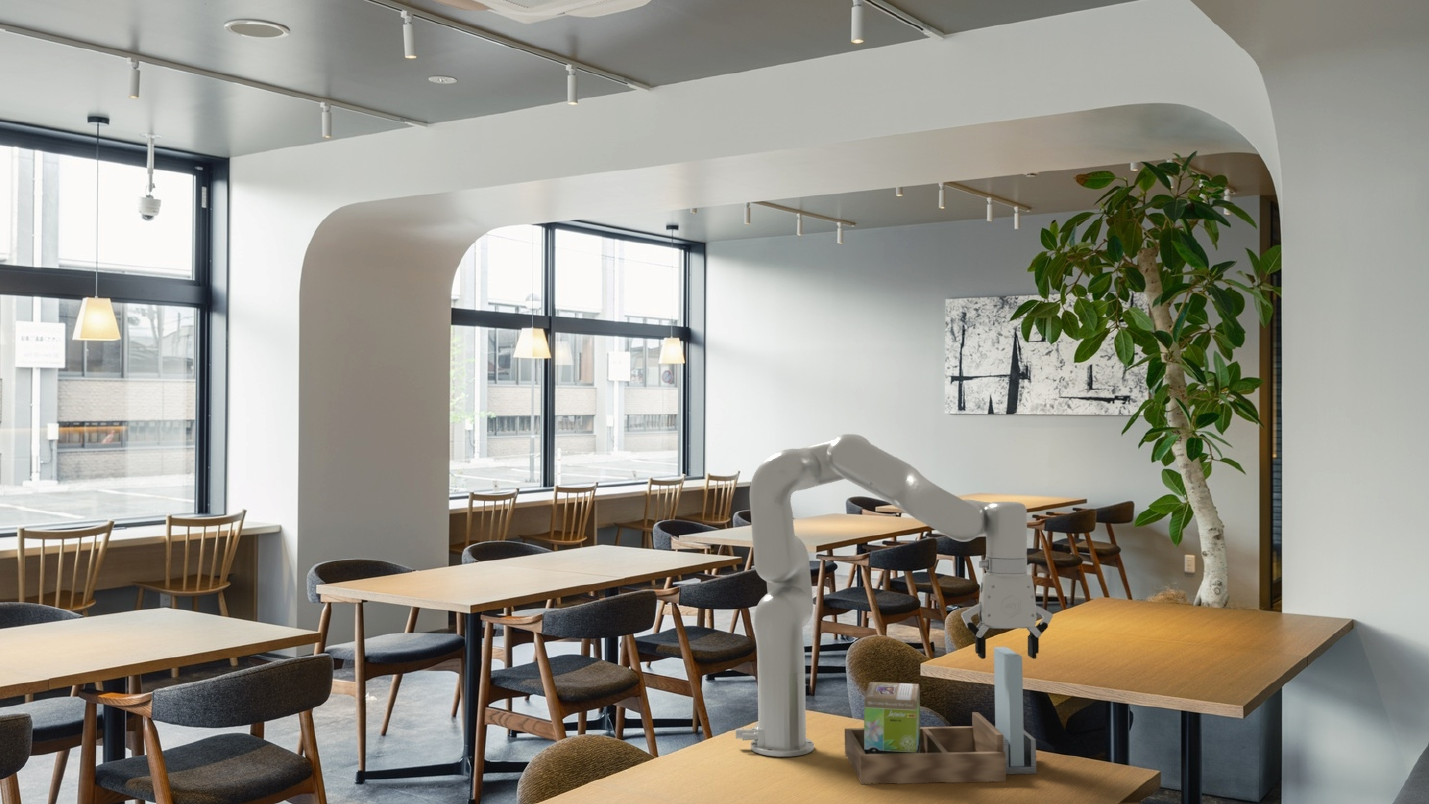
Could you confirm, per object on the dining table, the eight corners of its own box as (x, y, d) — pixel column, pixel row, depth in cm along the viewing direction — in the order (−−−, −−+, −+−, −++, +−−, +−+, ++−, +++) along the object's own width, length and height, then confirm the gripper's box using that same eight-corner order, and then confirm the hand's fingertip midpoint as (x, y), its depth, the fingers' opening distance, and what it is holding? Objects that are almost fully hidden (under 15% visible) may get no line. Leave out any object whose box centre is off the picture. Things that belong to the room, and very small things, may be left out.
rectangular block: (1010, 765, 213) (1008, 656, 214) (995, 751, 223) (993, 647, 224) (1024, 765, 213) (1022, 656, 214) (1008, 751, 223) (1006, 647, 224)
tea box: (918, 781, 209) (917, 698, 209) (863, 778, 211) (861, 696, 211) (921, 758, 223) (919, 681, 224) (868, 756, 225) (867, 680, 226)
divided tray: (861, 784, 207) (860, 739, 207) (844, 754, 227) (844, 713, 227) (1006, 781, 208) (1005, 736, 208) (977, 751, 228) (976, 710, 228)
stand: (1004, 774, 212) (1003, 740, 212) (986, 756, 224) (985, 724, 224) (1036, 773, 212) (1035, 739, 213) (1017, 755, 224) (1016, 723, 225)
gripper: (966, 569, 215) (966, 661, 215) (1058, 569, 216) (1058, 661, 216) (956, 564, 223) (956, 653, 222) (1045, 564, 224) (1045, 653, 223)
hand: (1006, 657), depth 219 cm, fingers open, 9 cm apart
